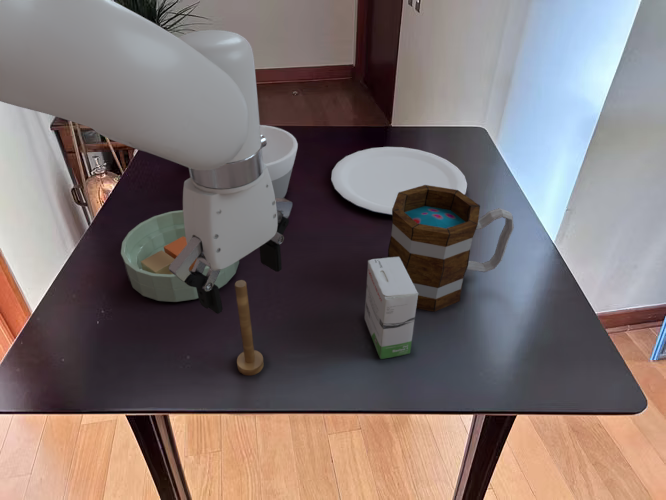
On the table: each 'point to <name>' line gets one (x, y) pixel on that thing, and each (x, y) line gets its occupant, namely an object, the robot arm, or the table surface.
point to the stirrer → (246, 334)
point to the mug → (440, 241)
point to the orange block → (177, 249)
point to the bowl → (279, 157)
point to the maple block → (158, 263)
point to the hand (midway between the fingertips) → (243, 286)
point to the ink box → (390, 306)
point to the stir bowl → (152, 240)
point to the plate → (391, 176)
